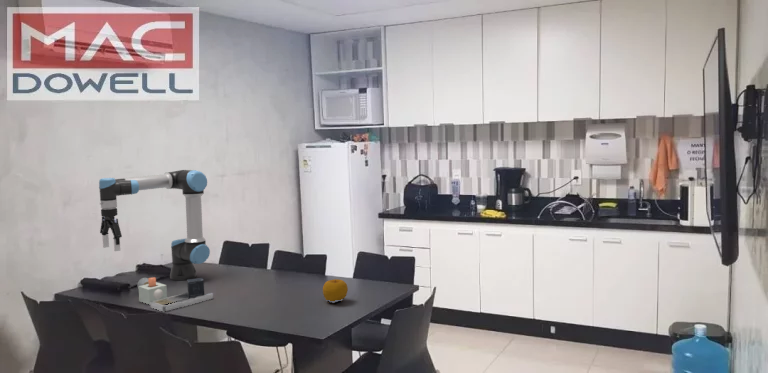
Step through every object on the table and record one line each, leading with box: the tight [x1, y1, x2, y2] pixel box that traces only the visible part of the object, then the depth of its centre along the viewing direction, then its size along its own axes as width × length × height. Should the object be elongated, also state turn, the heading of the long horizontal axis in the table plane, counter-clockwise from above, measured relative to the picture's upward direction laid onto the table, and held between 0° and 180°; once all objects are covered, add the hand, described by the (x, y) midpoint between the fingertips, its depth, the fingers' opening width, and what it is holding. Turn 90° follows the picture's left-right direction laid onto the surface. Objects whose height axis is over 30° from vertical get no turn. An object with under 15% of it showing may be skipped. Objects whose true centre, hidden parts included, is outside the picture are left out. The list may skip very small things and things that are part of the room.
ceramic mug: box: [137, 277, 149, 288], centre depth 317 cm, size 11×8×8 cm
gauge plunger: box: [147, 276, 157, 287], centre depth 300 cm, size 4×4×7 cm
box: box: [186, 277, 205, 299], centre depth 302 cm, size 8×6×11 cm
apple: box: [322, 278, 349, 301], centre depth 293 cm, size 13×13×11 cm
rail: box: [149, 291, 214, 313], centre depth 296 cm, size 28×12×3 cm, turn 141°
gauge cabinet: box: [137, 281, 168, 306], centre depth 300 cm, size 10×10×8 cm
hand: (111, 249), depth 298 cm, fingers open, 13 cm apart
